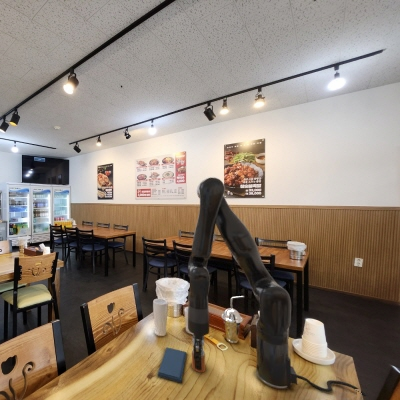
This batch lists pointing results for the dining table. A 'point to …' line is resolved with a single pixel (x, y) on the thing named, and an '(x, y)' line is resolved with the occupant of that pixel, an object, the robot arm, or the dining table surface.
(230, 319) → the cup with straw
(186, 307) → the white cup
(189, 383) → the dining table surface
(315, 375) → the dining table surface
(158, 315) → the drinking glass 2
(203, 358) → the pill bottle
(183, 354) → the blue flat rectangular block
